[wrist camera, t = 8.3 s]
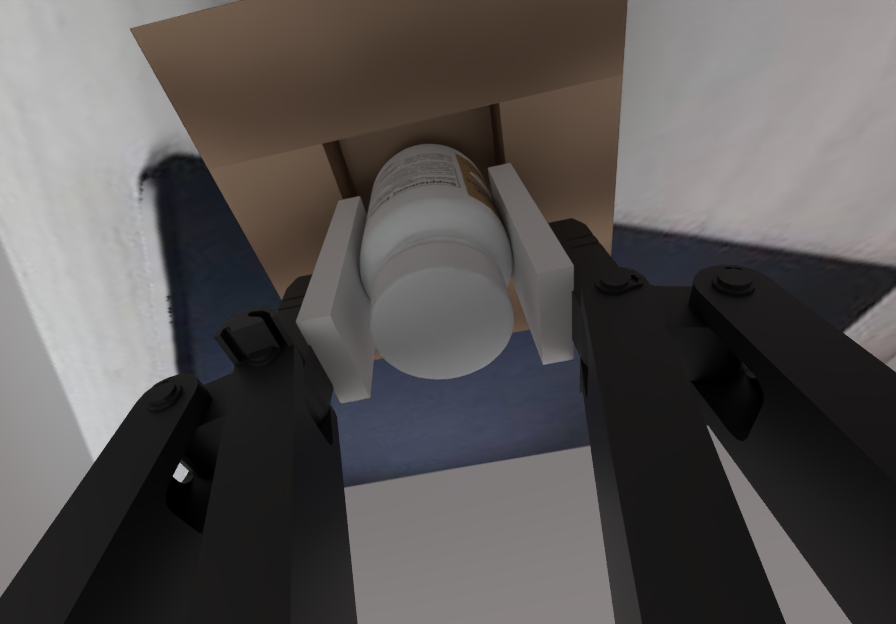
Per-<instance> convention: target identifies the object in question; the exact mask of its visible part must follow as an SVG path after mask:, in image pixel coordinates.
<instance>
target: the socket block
mask: <svg viewBox="0 0 896 624" xmlns="http://www.w3.org/2000/svg"><path fill="white" fill-rule="evenodd" d="M626 16H627V0H240V1H237V2H233V3H229V4H225V5H221V6H217V7H213V8H209V9H205V10H201V11H197V12H193V13H189V14H185V15H182V16H178V17H174V18H170V19H166V20H162V21H158V22H154V23H150V24H146V25H142V26H138V27H134V28H130V31H131V32H132V34H133V36H134V38H135V39H136V41H137V43H138V45H139V47H140V48H141V50H142V52H143V54H144V56H145V57H146V59H147V61H148V63H149V64H150V66H151V68H152V70H153V72H154V73H155V75H156V77H157V79H158V80H159V82H160V84H161V86H162V88H163V89H164V91H165V93H166V95H167V96H168V98H169V100H170V102H171V104H172V105H173V107H174V109H175V111H176V112H177V114H178V116H179V118H180V120H181V121H182V123H183V125H184V127H185V128H186V130H187V132H188V134H189V136H190V137H191V139H192V141H193V143H194V145H195V146H196V148H197V150H198V152H199V153H200V155H201V157H202V159H203V161H204V162H205V164H206V166H207V168H208V169H209V171H210V173H211V175H212V177H213V178H214V180H215V182H216V184H217V185H218V187H219V189H220V191H221V193H222V194H223V196H224V198H225V200H226V201H227V203H228V205H229V207H230V209H231V210H232V212H233V214H234V216H235V218H236V219H237V221H238V223H239V225H240V226H241V228H242V230H243V232H244V234H245V235H246V237H247V239H248V241H249V242H250V244H251V246H252V248H253V250H254V251H255V253H256V255H257V257H258V258H259V260H260V262H261V264H262V266H263V267H264V269H265V271H266V273H267V274H268V276H269V278H270V280H271V282H272V283H273V285H274V287H275V289H276V290H277V292H278V294H279V296H280V298H281V299H282V298H283V296H284V294H285V291H286V289H287V288H288V287H289V286H290V285H291V284H292V283H293V281H294V280H295V279H296V278H297V277H300V276H305V275H310V274H313V272H314V269H315V266H316V263H317V260H318V257H319V255H320V252H321V249H322V246H323V243H324V240H325V238H326V235H327V232H328V229H329V226H330V223H331V221H332V218H333V215H334V212H335V209H336V206H337V204H338V201H340V200H344V199H349V198H353V197H358V196H360V197H361V200H362V203H363V206H364V209H365V212H366V215H367V214H368V208H369V203H370V198H371V193H372V189H373V186H374V182H375V180H376V177H377V175H378V174H379V172H380V170H381V169H382V167H383V166H384V165H385V164H386V163H387V162H388V161H389V160H390V159H391V158H392V157H393V156H394V155H396V154H397V153H399V152H401V151H402V150H404V149H406V148H409V147H412V146H416V145H420V144H439V145H444V146H448V147H451V148H453V149H455V150H457V151H459V152H460V153H462V154H463V155H465V156H466V157H467V158H468V159H470V160H471V161H472V162H473V163H474V165H475V166H476V167H477V168H478V170H479V171H480V173H481V175H482V177H483V179H484V181H485V184H486V186H487V188H488V190H489V192H490V194H491V188H490V181H489V173H488V168H489V167H493V166H498V165H502V164H507V163H511V165H512V166H513V168H514V170H515V171H516V173H517V174H518V176H519V178H520V179H521V181H522V183H523V184H524V186H525V187H526V189H527V191H528V192H529V194H530V196H531V197H532V199H533V200H534V202H535V204H536V205H537V207H538V208H539V210H540V212H541V213H542V215H543V217H544V218H545V220H546V221H547V223H550V222H555V221H560V220H564V219H569V218H573V219H575V220H577V221H580V222H582V223H584V224H586V225H587V227H588V228H589V229H590V231H591V232H592V233H593V236H595V237H596V238H597V239H598V241H599V244H600V243H601V245H602V246H603V247H604V248H605V250H606V251H607V252H608V253H609V255H610V256H611V247H612V232H613V216H614V201H615V185H616V170H617V155H618V139H619V124H620V108H621V93H622V78H623V62H624V47H625V31H626ZM491 197H492V196H491ZM507 290H508V293H509V296H510V300H511V303H512V307H513V313H514V326H513V331H512V333H514V332H519V331H524V330H529V329H530V328H529V325H528V322H527V320H526V317H525V314H524V311H523V309H522V306H521V303H520V300H519V298H518V295H517V292H516V290H515V287H514V284H513V281H512V279H511V278H510V281H509V284H508V286H507ZM382 358H383V357H382V356H381V355H380V354H379V353H378V351H377V350H376V348H375V353H374V360H377V359H382Z"/></svg>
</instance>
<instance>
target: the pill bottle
mask: <svg viewBox="0 0 896 624" xmlns="http://www.w3.org/2000/svg"><path fill="white" fill-rule="evenodd" d="M512 267H513V258H512V249H511V245H510V242H509V239H508V236H507V233H506V231H505V228H504V226H503V224H502V221H501V219H500V216H499V214H498V212H497V209H496V207H495V205H494V202H493V200H492V197H491V194H490V192H489V190H488V188H487V186H486V184H485V181H484V179H483V177H482V175H481V173H480V171H479V170H478V168H477V167H476V166H475V165H474V163H473V162H472V161H471V160H470V159H468V158H467V157H466V156H465V155H463V154H462V153H460V152H459V151H457V150H455V149H453V148H451V147H448V146H444V145H439V144H420V145H416V146H412V147H409V148H406V149H404V150H402V151H401V152H399V153H397V154H396V155H394V156H393V157H392V158H391V159H390V160H389V161H388V162H387V163H386V164H385V165H384V166H383V167H382V169H381V170H380V172H379V174H378V175H377V177H376V180H375V182H374V186H373V189H372V193H371V198H370V203H369V208H368V214H367V220H366V224H365V229H364V234H363V239H362V245H361V252H360V275H361V279H362V283H363V286H364V288H365V291H366V293H367V295H368V296H369V298H370V300H371V303H370V313H369V331H370V336H371V339H372V342H373V344H374V346H375V348H376V350H377V351H378V353H379V354H380V355H381V356H382V357H383V358H384V359H385V360H386V361H387V362H388V363H389V364H391V365H392V366H394V367H395V368H397V369H398V370H400V371H402V372H405V373H407V374H410V375H412V376H417V377H420V378H428V379H450V378H455V377H460V376H464V375H467V374H470V373H472V372H474V371H477V370H479V369H481V368H483V367H485V366H486V365H488V364H489V363H490V362H492V361H493V360H494V359H495V358H496V357H497V356H498V355H499V354H500V353H501V352H502V351H503V349H504V348H505V347H506V345H507V344H508V341H509V339H510V337H511V334H512V331H513V326H514V313H513V307H512V303H511V300H510V296H509V293H508V290H507V286H508V284H509V281H510V278H511V273H512Z"/></svg>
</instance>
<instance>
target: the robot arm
mask: <svg viewBox="0 0 896 624" xmlns="http://www.w3.org/2000/svg"><path fill="white" fill-rule="evenodd" d="M488 173H489V181H490V188H491V196H492V200H493V202H494V205H495V207H496V209H497V212H498V214H499V216H500V219H501V221H502V224H503V226H504V228H505V231H506V233H507V236H508V239H509V242H510V245H511V249H512V258H513V267H512V273H511V279H512V281H513V284H514V287H515V290H516V292H517V295H518V298H519V300H520V303H521V306H522V309H523V311H524V314H525V317H526V320H527V322H528V325H529V328H530V331H531V333H532V336H533V339H534V342H535V344H536V347H537V350H538V352H539V355H540V358H541V361H542V363H543V365H545V364H550V363H556V362H561V361H566V360H572V359H574V345H575V347H576V349H577V351H578V353H579V355H580V392H583V396H584V403H585V411H586V418H587V425H588V432H589V439H590V446H591V453H592V461H593V468H594V475H595V482H596V489H597V496H598V503H599V510H600V517H601V524H602V532H603V539H604V546H605V553H606V561H607V568H608V575H609V582H610V589H611V596H612V603H613V610H614V618H615V624H786V623H785V620H784V618H783V616H782V613H781V611H780V608H779V605H778V603H777V600H776V598H775V595H774V593H773V591H772V588H771V585H770V583H769V581H768V578H767V575H766V573H765V570H764V568H763V566H762V563H761V561H760V558H759V556H758V553H757V551H756V548H755V546H754V543H753V541H752V538H751V536H750V533H749V531H748V528H747V526H746V523H745V521H744V518H743V516H742V513H741V511H740V509H739V506H738V503H737V501H736V498H735V496H734V493H733V491H732V488H731V486H730V483H729V481H728V479H727V476H726V473H725V471H724V469H723V466H722V463H721V461H720V459H719V456H718V453H717V451H716V448H715V446H714V443H713V441H712V438H711V436H710V433H709V431H708V429H707V426H706V424H705V422H706V423H707V424H708V426H709V427H710V428H711V430H712V431H713V433H714V434H715V436H716V437H717V438H718V440H719V441H720V442H721V444H722V445H723V447H724V448H725V449H726V451H727V452H728V453H729V455H730V456H731V457H732V459H733V460H734V462H735V463H736V464H737V466H738V467H739V469H740V470H741V471H742V473H743V474H744V475H745V477H746V478H747V479H748V481H749V482H750V484H751V485H752V486H753V488H754V489H755V491H756V492H757V493H758V495H759V496H760V498H761V499H762V500H763V502H764V503H765V504H766V506H767V507H768V509H769V510H770V511H771V513H772V514H773V515H774V517H775V518H776V520H777V521H778V522H779V523H780V525H781V526H782V528H783V529H784V531H785V532H786V533H787V535H788V536H789V537H790V539H791V540H792V542H793V543H794V544H795V546H796V547H797V548H798V550H799V551H800V553H801V554H802V555H803V557H804V558H805V559H806V561H807V562H808V564H809V565H810V566H811V568H812V569H813V570H814V572H815V573H816V575H817V576H818V577H819V579H820V580H821V582H822V583H823V584H824V586H825V587H826V588H827V590H828V591H829V593H830V594H831V595H832V597H833V598H834V599H835V601H836V602H837V604H838V605H839V606H840V607H841V609H842V610H843V612H844V613H845V615H846V616H847V617H848V619H849V620H850V621H851V623H852V624H896V372H895V371H893V370H892V369H891V368H889V367H888V366H887V365H885V364H884V363H883V362H881V361H880V360H879V359H877V358H876V357H875V356H873V355H872V354H871V353H869V352H868V351H867V350H865V349H864V348H863V347H861V346H860V345H859V344H857V343H856V342H855V341H853V340H852V339H851V338H849V337H848V336H847V335H845V334H844V333H843V332H841V331H840V330H839V329H837V328H836V327H835V326H833V325H832V324H831V323H829V322H828V321H827V320H825V319H824V318H823V317H821V316H820V315H818V314H817V313H816V312H814V311H813V310H812V309H810V308H809V307H808V306H806V305H805V304H804V303H802V302H801V301H800V300H798V299H797V298H796V297H794V296H793V295H792V294H790V293H789V292H788V291H786V290H785V289H784V288H782V287H781V286H780V285H778V284H777V283H776V282H774V281H773V280H772V279H770V278H769V277H768V276H766V275H764V274H762V273H760V272H758V271H756V270H753V269H750V268H746V267H743V266H737V265H718V266H711V267H708V268H705V269H702V270H700V271H699V272H698V273H697V274H696V275H695V276H694V280H693V284H692V287H684V286H653V285H650V284H649V282H648V281H647V279H646V278H645V277H644V276H643V275H642V274H640V273H638V272H636V271H635V270H631V269H627V268H623V267H619V266H618V265H617V264H616V262H615V261H614V260H613V259H612V257H611V256H610V255H609V253H608V252H607V251H606V250H605V248H604V247H603V246H602V245H601V243H600V244H599V241H598V239H597V238H596V237H595V236H593V233H592V232H591V231H590V229H589V228H588V227H587V225H586V224H584V223H582V222H580V221H577V220H575V219H573V218H569V219H564V220H560V221H555V222H550V223H547V221H546V220H545V218H544V217H543V215H542V213H541V212H540V210H539V208H538V207H537V205H536V204H535V202H534V200H533V199H532V197H531V196H530V194H529V192H528V191H527V189H526V187H525V186H524V184H523V183H522V181H521V179H520V178H519V176H518V174H517V173H516V171H515V170H514V168H513V166H512V165H511V163H507V164H502V165H498V166H493V167H489V168H488ZM366 220H367V215H366V212H365V209H364V206H363V203H362V200H361V197H360V196H358V197H353V198H349V199H344V200H340V201H338V204H337V206H336V209H335V212H334V215H333V218H332V221H331V223H330V226H329V229H328V232H327V235H326V238H325V240H324V243H323V246H322V249H321V252H320V255H319V257H318V260H317V263H316V266H315V269H314V272H313V274H310V275H305V276H300V277H297V278H296V279H295V280H294V281H293V283H292V284H291V285H290V286H289V287H288V288H287V289H286V291H285V294H284V296H283V298H282V302H281V303H280V306H279V308H278V312H276V310H274V309H272V308H270V307H258V308H253V309H249V310H247V311H244V312H242V313H240V314H237V315H236V316H234V317H233V318H231V319H230V320H228V321H226V322H225V323H224V324H223V325H222V326H221V327H220V328H219V329H218V331H217V333H216V335H215V336H214V338H215V340H216V341H217V342H218V344H219V345H220V346H221V348H222V349H223V350H224V352H225V353H226V354H227V356H228V357H229V358H230V360H231V361H232V362H233V364H234V365H235V366H234V371H233V373H231V374H229V375H226V376H224V377H222V378H219V379H217V380H214V381H212V382H210V383H207V384H205V385H203V384H202V383H201V382H200V381H199V380H198V378H197V377H195V376H193V375H191V374H179V375H175V376H172V377H169V378H166V379H164V380H162V381H160V382H158V383H157V384H155V385H154V386H153V387H152V388H151V389H149V390H148V391H147V392H145V393H144V394H143V395H142V397H141V398H140V399H139V400H138V401H137V402H136V404H135V405H134V406H133V408H132V409H131V411H130V412H129V414H128V415H127V416H126V418H125V419H124V421H123V422H122V424H121V425H120V427H119V428H118V429H117V431H116V432H115V434H114V435H113V437H112V438H111V439H110V441H109V442H108V444H107V445H106V447H105V448H104V449H103V451H102V452H101V454H100V455H99V457H98V458H97V460H96V461H95V462H94V464H93V465H92V467H91V468H90V470H89V471H88V473H87V474H86V476H85V477H84V478H83V480H82V481H81V483H80V484H79V486H78V487H77V489H76V490H75V491H74V493H73V494H72V496H71V497H70V498H69V500H68V501H67V503H66V504H65V505H64V507H63V509H62V510H61V511H60V513H59V514H58V516H57V517H56V518H55V520H54V521H53V523H52V524H51V526H50V527H49V528H48V530H47V531H46V533H45V534H44V536H43V537H42V539H41V540H40V541H39V543H38V544H37V546H36V547H35V549H34V550H33V552H32V553H31V554H30V556H29V557H28V559H27V560H26V562H25V563H24V564H23V566H22V567H21V569H20V570H19V572H18V573H17V574H16V576H15V577H14V579H13V580H12V582H11V583H10V585H9V586H8V587H7V589H6V590H5V592H4V593H3V594H2V596H1V597H0V624H357V615H356V605H355V594H354V584H353V575H352V564H351V554H350V544H349V534H348V524H347V514H346V503H345V494H344V483H343V473H342V463H341V453H340V443H339V432H338V422H337V416H336V413H335V411H334V409H333V407H332V406H331V404H330V402H331V397H332V392H333V390H334V392H335V394H336V395H337V397H338V399H339V401H340V402H341V403H346V402H351V401H356V400H362V399H367V398H370V393H371V383H372V373H373V363H374V353H375V346H374V344H373V342H372V339H371V336H370V331H369V313H370V303H371V300H370V298H369V296H368V295H367V293H366V291H365V288H364V286H363V283H362V279H361V275H360V252H361V245H362V239H363V234H364V229H365V224H366ZM704 420H705V421H704ZM179 463H181V464H182V465H183V466H184V467H185V468H186V469H188V470H189V472H188V474H187V476H186V477H185V479H184V480H183V481H182V483H181V482H178V481H177V480H176V479H175V478H174V477H173V474H174V472H175V470H176V468H177V467H178V465H179Z"/></svg>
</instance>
